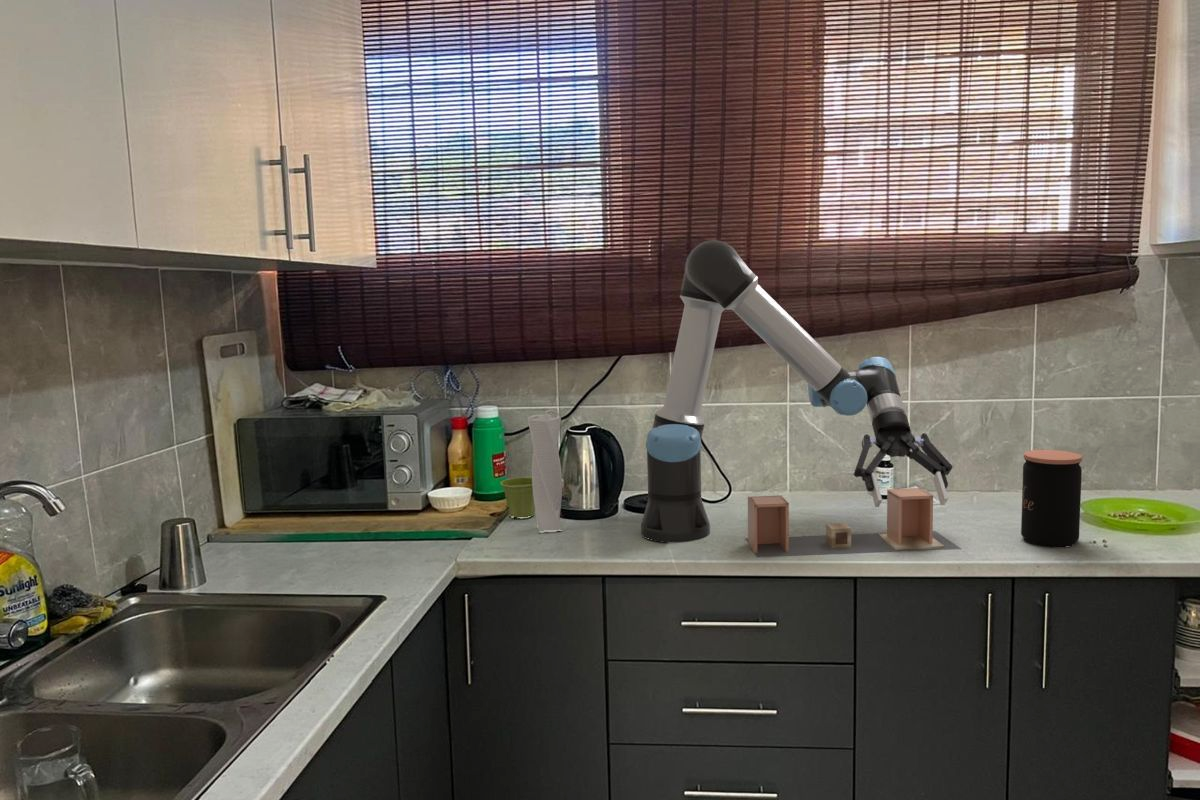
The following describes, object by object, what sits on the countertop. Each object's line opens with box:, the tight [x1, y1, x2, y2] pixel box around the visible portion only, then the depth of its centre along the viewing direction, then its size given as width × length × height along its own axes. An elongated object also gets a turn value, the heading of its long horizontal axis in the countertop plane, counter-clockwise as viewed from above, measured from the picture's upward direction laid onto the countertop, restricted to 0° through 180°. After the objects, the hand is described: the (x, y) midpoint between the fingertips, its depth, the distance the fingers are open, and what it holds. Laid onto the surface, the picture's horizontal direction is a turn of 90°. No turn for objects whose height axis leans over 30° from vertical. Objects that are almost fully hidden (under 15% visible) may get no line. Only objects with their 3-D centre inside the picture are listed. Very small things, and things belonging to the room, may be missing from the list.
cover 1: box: [747, 495, 790, 554], centre depth 181 cm, size 7×6×10 cm
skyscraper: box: [527, 409, 563, 532], centre depth 200 cm, size 8×8×28 cm
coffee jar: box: [1020, 449, 1083, 548], centre depth 180 cm, size 11×11×18 cm
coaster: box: [878, 534, 945, 550], centre depth 183 cm, size 10×10×1 cm
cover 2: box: [886, 487, 934, 545], centre depth 182 cm, size 7×6×10 cm
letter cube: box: [825, 522, 852, 548], centre depth 182 cm, size 4×4×4 cm
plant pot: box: [500, 477, 536, 517], centre depth 214 cm, size 9×9×9 cm
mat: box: [744, 530, 962, 558], centre depth 183 cm, size 41×13×1 cm, turn 92°
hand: (911, 502), depth 182 cm, fingers open, 13 cm apart
